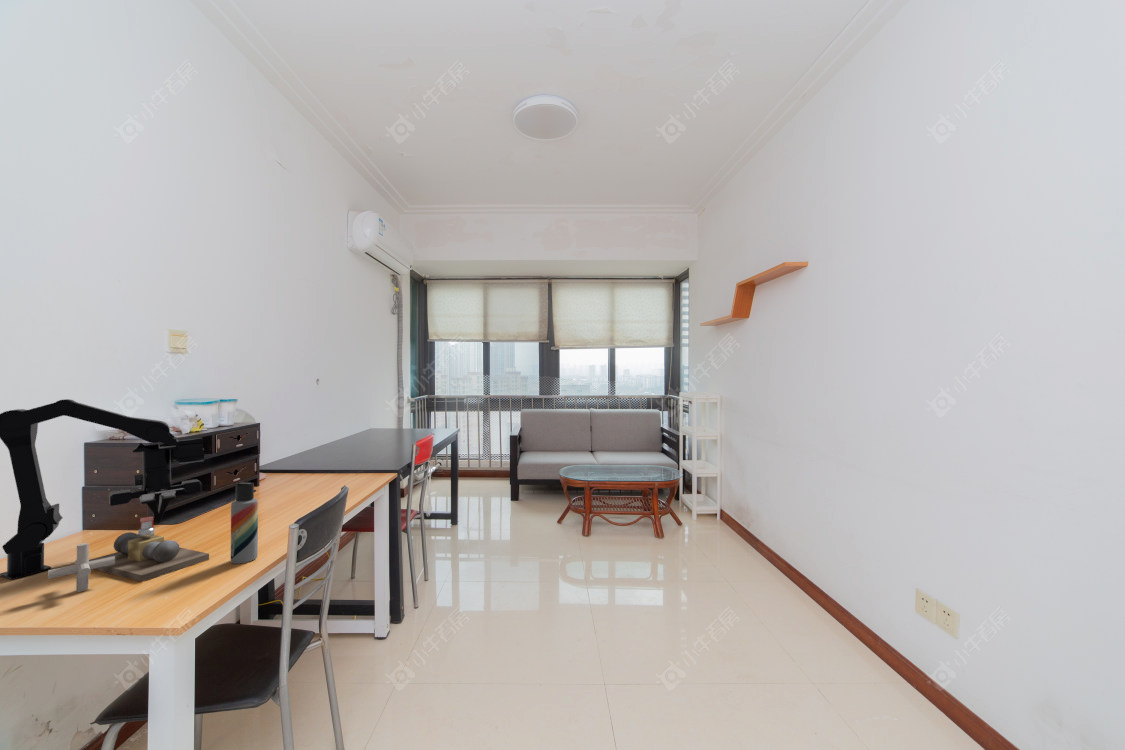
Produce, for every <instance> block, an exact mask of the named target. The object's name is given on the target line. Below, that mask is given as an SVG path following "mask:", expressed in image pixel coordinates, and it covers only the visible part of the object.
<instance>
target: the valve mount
mask: <svg viewBox="0 0 1125 750" xmlns="http://www.w3.org/2000/svg"><path fill="white" fill-rule="evenodd" d="M113 548H114V549H113V550H115V552H114V553H110V554H106V555H102V556H98V557H95V558H91V559H89V562H90V561H94V560H99V559H104V558H108V557H113V556H115V564H113V565H108V566H104V567H100V568H95V569H94V570H95V571H99V572H103V573H107V574H109V575H114V576H117V577H122V578H126V579H129V580H132V581H133V580H134V581H137V582H141V583H142V582H146V581H149V580H151V579H154V578H158V577H161V576H163V575H167V574H170V573H172V572H175V571H178V570H182V569H184V568H187V567H188V568H189V567H191V566H194V565H197V564H199V563H200V564H201V563H202V562H205V561H209V560H210V553H209V552H208V553H207V552H204V551H198V550H195V549H188V548H184V547H180V545H179V543H178V541H175V540H171V539H166V540H165V536H163V535H156V534H154V536H151V537H147V538H138V533H135V532H131V531H129V532H124V533H122V534H120V535H119V536H117V537H116V538H115V540H114V542H113Z"/></svg>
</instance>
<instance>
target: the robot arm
mask: <svg viewBox="0 0 1125 750" xmlns="http://www.w3.org/2000/svg"><path fill="white" fill-rule="evenodd" d="M63 416H66V417H70V418H74V419H77V420H82V421H84V422H88V423H93V424H96V425H97V424H98V425H101V426H105V427H108V428H111V429H112V428H113V429H116V430H120V431H123V432H125V433H127V434H129V435H131V436H133V437H136V438H138V439H141V440H143V441H145V442H148V443H151V444H145V443H144V442H139V444H138V445H137V446H136V447H135V448H134V449H133V450H132V453H142V473H141V474H134V475H133V488H138V487H139V488H140V487H141V489H142V490H136V491H131V489H130V488H129V489H121V490H114V491H111V492H110V493H109V494H108V501H109V506H110V507H111V506H119V505H125V504H128V503H129V502H131V500H134V499H139V502H140V504H141V505H142V504H143V505H144V504H146V505H147V507H148V508H149V509H150V511H151V512H152V515H153V518H154V520H155V521H156V523H157V524H160V523H161V522H162V518H163V517H164V515H165V512H166V509H167V507H168V506H169V504H170V502H171V501H172V500H174V499H176V498H177V496H176V493H177V492H183V491H185V492H186V493H187V494H190V493H191V494H192V493H198V492H202V491H203V482H201V481H200V480H198V479H196V478H195V479H189V480H182V481H181V484H175V485H172V468H171V467H172V464H171V450H173V461H176V462H178V463H179V465H180V464H181V465H182V464H189V463H197V462H204V461H205V449H204V444H203V441H204V440H203V437H195V438H192V439H191V438H190V439H181V440H180V439H178V437H177V436H175V435H174V434H173V433H171V427H170V425H169V424H168V423H167V422H165V421H163V420H157V419H149V418H143V417H132V416H127V415H126V414H125V415H124V414H120V413H117V412H114V411H110V410H106V409H103V408H98V407H96V406H93V405H92V406H91V405H88V404H84V403H80V402H77V401H75V400H74V399H59V400H57V401H55V402H52V403H49V404H44V405H40V406H38V407H34V408H31V409H25V408H24V409H23V408H22V409H21V408H20V409H19V408H17V409H13V410H11V409H10V410H6V411H3V412H1V413H0V440H1V441H2V443H3V445H5V447H6V448H7V449H8V453H9V457H10V462H11V466H12V470H13V477H14V480H15V481H14V482H15V484H16V490H17V494H18V499H19V505H20V507H19V514H18V519H17V530H16V531H17V532H16V534H15V535H13V536H12V537H11V538H10V539H8V541H7V542H5V543H4V544H3V545H2V547H1V548H2V550H3V551H4V553H5V554H6V555H7V559H6V562H7V563H6V571H4V572H0V577H3V578H5V577H6V579H9V580H14V579H19V578H23V577H27V576H30V575H33V574H38V573H42V572H46V571H48V570H52V566H49V565H46V564H45V542H44V541H45V540H46V539H47V538H49V537H50V536H51V535H52V534H53V533H54V532H55V530H56V529H57V528H58V527H59V525H60V522H61V521H62V519H63V516H62V515H61V513H60V503H56V504H51V503H50V502H49V500H48V498H47V495H46V491H45V487H44V482H43V476H42V473H41V467H40V462H39V458H38V454H37V449H36V440H37V436H38V435H37V434H38V427H39V423H43V422H47V421H49V420H53V419H57V418H59V417H60V418H61V417H63ZM152 443H153V444H152ZM160 444H164V445H166V446H160ZM155 496H159V501H158V502H159V503H158V504H157V500H156V498H155Z"/></svg>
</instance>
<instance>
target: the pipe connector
mask: <svg viewBox="0 0 1125 750" xmlns="http://www.w3.org/2000/svg"><path fill="white" fill-rule="evenodd" d="M89 553H90V543H89V542H84V543H83V542H81V543H79V544H76V560H75V562H74V563H75V564H72V565H68V566H67V565H66V566H63V567H58V568H53V569H49V570H47V580H50V579H54V578H59V577H64V576H68V575H72V574H76V580H75V581H76V584H75V586H76V587H75V588H76V589H75V591H76V592H77V593H80V592H84V591H87V590H89V578H90V577H89V575H90V574H91V572H92V570H95V568H100V567H104V566H108V565H113V564H115V556H113V557H108V558H104V559H99V560H94V561H90V562H89V560H90V554H89Z"/></svg>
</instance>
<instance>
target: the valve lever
mask: <svg viewBox="0 0 1125 750" xmlns="http://www.w3.org/2000/svg"><path fill="white" fill-rule="evenodd" d="M139 521H140V522H139V529H138V530H137V534H138V538H147V537H151V536H154V535H155V527H154V515H153V516H147V517H140V519H139Z"/></svg>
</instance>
